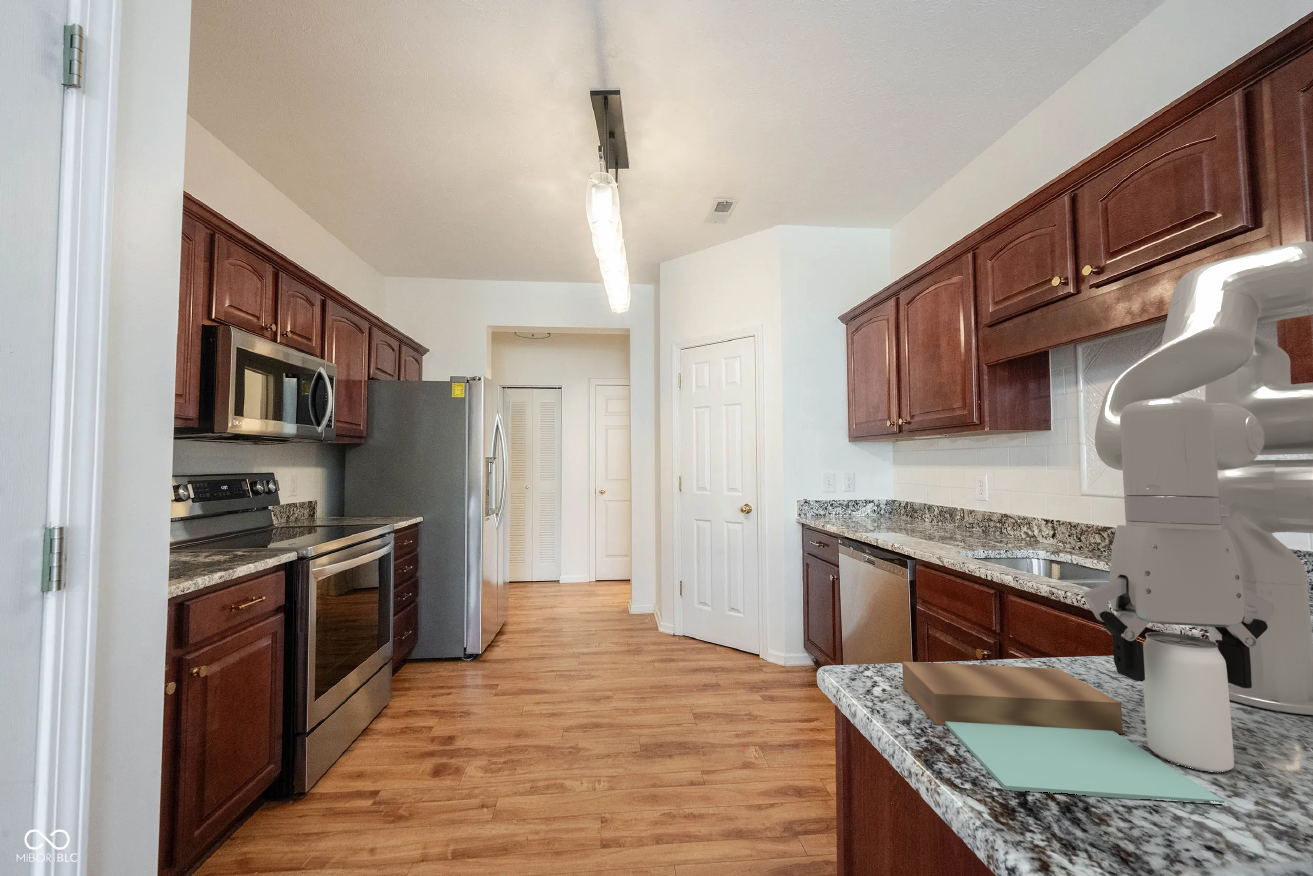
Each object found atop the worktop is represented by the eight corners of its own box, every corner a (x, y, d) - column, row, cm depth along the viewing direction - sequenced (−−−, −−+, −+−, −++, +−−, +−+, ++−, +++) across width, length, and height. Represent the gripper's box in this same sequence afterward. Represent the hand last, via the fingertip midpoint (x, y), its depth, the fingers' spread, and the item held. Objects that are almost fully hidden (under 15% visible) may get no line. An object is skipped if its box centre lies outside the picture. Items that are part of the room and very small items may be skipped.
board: (1059, 695, 74) (1057, 668, 74) (1123, 735, 62) (1120, 702, 62) (903, 687, 76) (902, 661, 77) (935, 724, 65) (934, 693, 65)
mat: (1113, 734, 62) (1113, 730, 62) (1224, 805, 48) (1224, 800, 48) (945, 725, 64) (944, 721, 64) (1005, 790, 51) (1005, 785, 51)
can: (1180, 742, 61) (1172, 630, 62) (1253, 772, 54) (1243, 646, 55) (1131, 746, 59) (1123, 632, 60) (1199, 777, 53) (1190, 649, 54)
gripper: (1229, 515, 62) (1241, 675, 60) (1062, 510, 64) (1068, 664, 62) (1299, 518, 54) (1315, 700, 52) (1106, 512, 56) (1115, 687, 55)
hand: (1181, 680), depth 57 cm, fingers open, 9 cm apart
